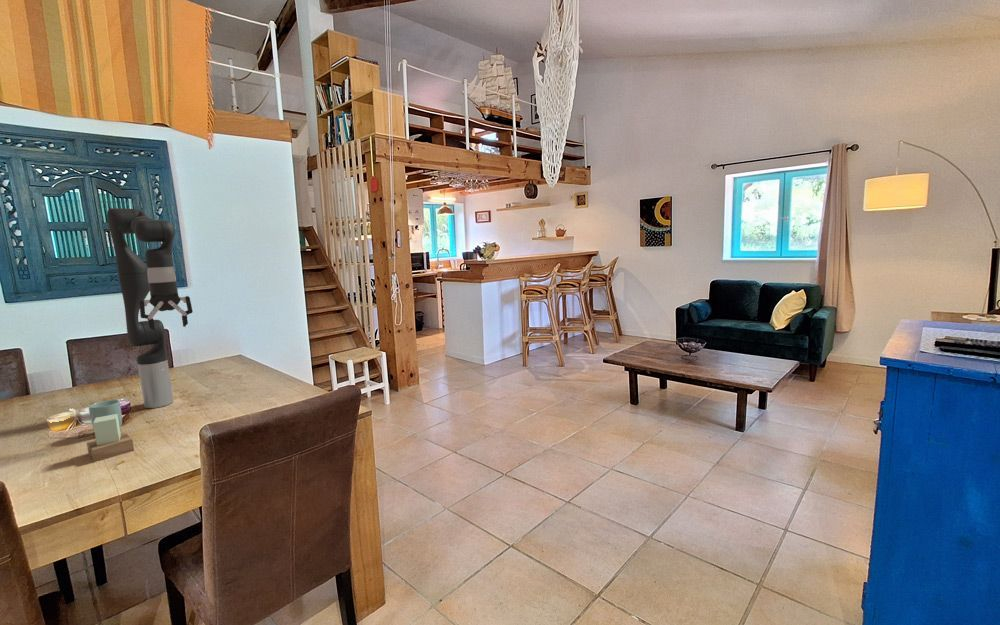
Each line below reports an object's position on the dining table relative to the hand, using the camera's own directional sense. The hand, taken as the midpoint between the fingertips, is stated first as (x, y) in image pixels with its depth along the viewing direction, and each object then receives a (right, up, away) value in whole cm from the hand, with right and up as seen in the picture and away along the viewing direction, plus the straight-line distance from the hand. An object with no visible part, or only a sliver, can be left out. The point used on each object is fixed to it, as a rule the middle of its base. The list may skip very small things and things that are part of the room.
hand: (169, 328), depth 154 cm
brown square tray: (-4, -37, -19) cm, 41 cm away
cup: (-18, -35, -3) cm, 39 cm away
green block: (-4, -33, -19) cm, 38 cm away
